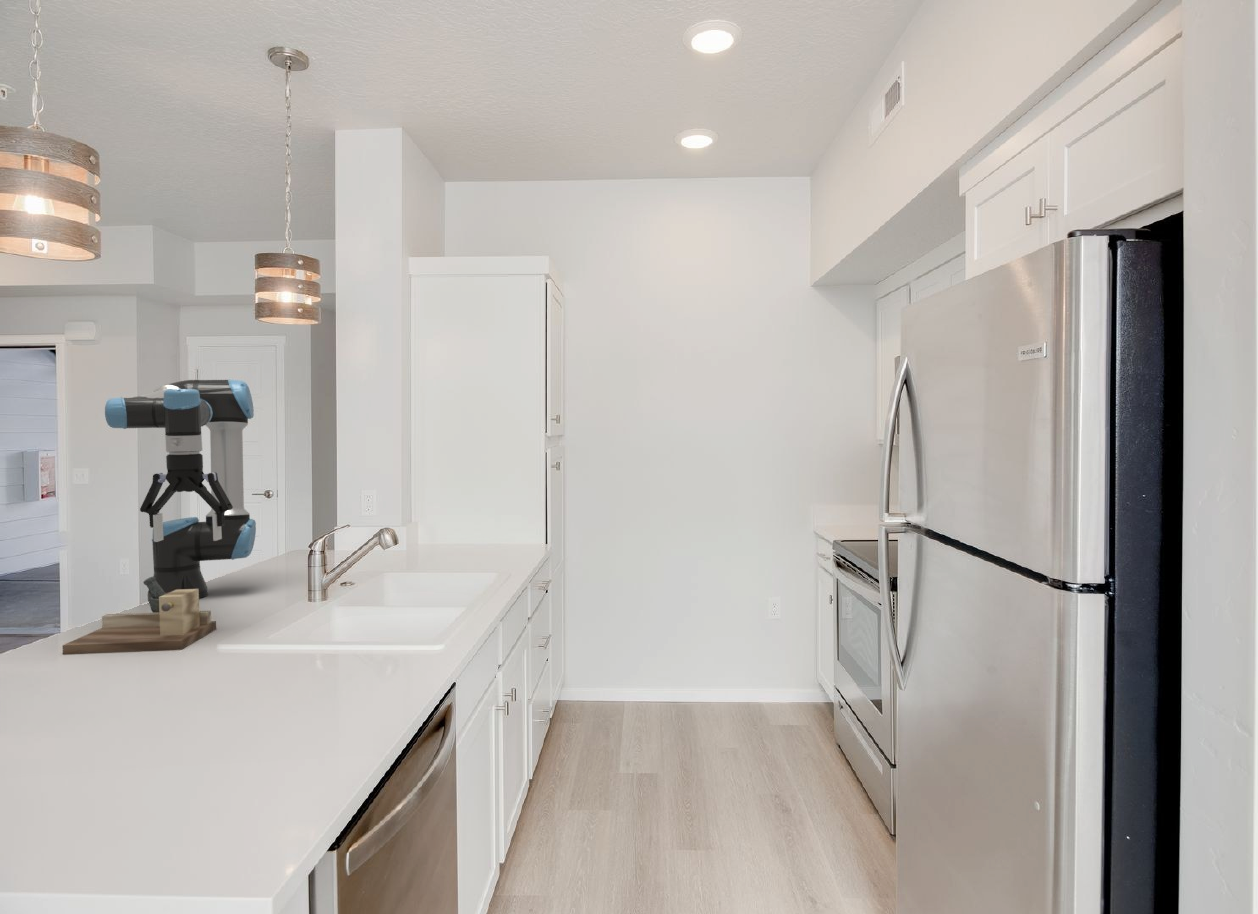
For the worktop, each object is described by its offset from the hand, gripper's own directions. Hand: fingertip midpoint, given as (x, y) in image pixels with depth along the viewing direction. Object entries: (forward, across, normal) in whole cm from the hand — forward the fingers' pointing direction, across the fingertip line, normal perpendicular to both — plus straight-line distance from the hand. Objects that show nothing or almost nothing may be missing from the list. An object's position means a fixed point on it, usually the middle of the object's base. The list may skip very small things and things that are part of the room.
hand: (188, 540), depth 179 cm
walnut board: (+22, -8, -7) cm, 25 cm away
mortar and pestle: (+23, -11, +11) cm, 28 cm away
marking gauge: (+20, 0, -6) cm, 21 cm away
